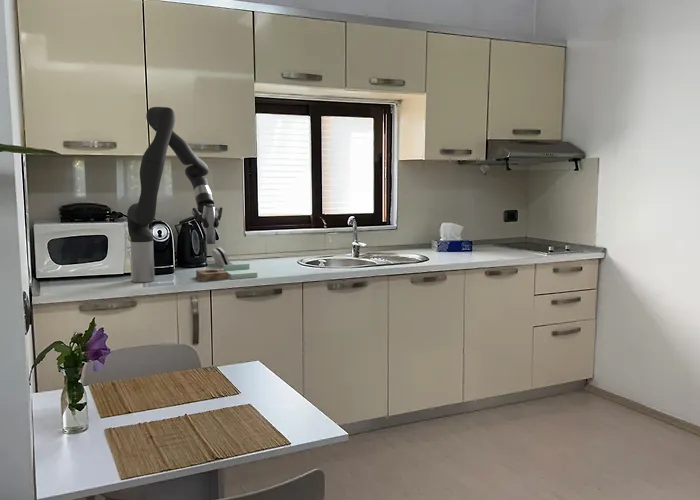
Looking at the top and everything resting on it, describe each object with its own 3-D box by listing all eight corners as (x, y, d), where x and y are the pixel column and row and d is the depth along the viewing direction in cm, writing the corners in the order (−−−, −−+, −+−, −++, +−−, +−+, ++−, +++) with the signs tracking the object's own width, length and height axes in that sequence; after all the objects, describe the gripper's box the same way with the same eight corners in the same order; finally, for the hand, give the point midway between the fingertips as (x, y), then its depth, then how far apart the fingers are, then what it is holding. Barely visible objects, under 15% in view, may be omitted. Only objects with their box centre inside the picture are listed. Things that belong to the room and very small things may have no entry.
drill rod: (207, 244, 274) (206, 204, 272) (204, 243, 278) (204, 204, 275) (216, 243, 276) (215, 204, 274) (213, 242, 279) (213, 203, 277)
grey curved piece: (234, 267, 308) (226, 248, 306) (225, 271, 307) (217, 252, 304) (225, 262, 323) (218, 244, 320) (216, 265, 322) (209, 247, 319)
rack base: (231, 279, 277) (231, 269, 276) (223, 274, 287) (223, 265, 287) (257, 276, 282) (257, 267, 282) (248, 272, 293) (248, 263, 292)
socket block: (202, 281, 271) (202, 274, 271) (196, 277, 281) (196, 270, 281) (227, 279, 277) (227, 272, 276) (220, 275, 286) (220, 268, 286)
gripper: (189, 191, 277) (196, 221, 268) (220, 191, 284) (229, 220, 275) (186, 203, 282) (193, 232, 273) (217, 202, 289) (225, 231, 280)
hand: (211, 226), depth 274 cm, fingers closed on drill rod, 4 cm apart
